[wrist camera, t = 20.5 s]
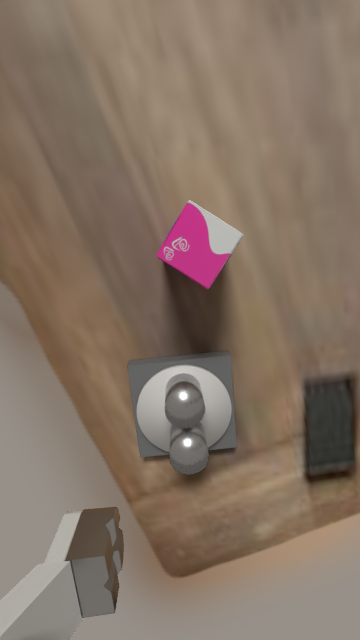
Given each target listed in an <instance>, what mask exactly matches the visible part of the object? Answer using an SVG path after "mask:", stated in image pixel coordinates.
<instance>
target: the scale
mask: <svg viewBox="0 0 360 640" xmlns="http://www.w3.org/2000/svg"><path fill="white" fill-rule="evenodd" d="M127 368H128V375H129V382H130V389H131V396H132V403H133V410H134V417H135V424H136V432H137V439H138V446H139V453H140V457H149V456H159V455H168V454H170V428H171V426H172V424H171V423H170V422H169V421H168V419H167V417H166V415H165V389H166V384H167V382H168V381H169V379H170V378H172V377H173V376H175V375H177V374H181V373H186V374H190V375H192V376H194V377H195V378H196V379H197V380H198V381H199V383H200V386H201V391H202V395H203V400H204V404H205V414H204V417H203V418H202V420H201V421H200V423H201V424H202V426H203V428H204V433H205V438H206V444H207V449H208V450H216V449H225V448H235V447H237V443H236V427H235V412H234V397H233V381H232V366H231V355H230V353H229V351H228V350H227V351H217V352H207V353H197V354H188V355H178V356H168V357H158V358H149V359H139V360H129V363H128V365H127Z"/></svg>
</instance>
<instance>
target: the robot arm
mask: <svg viewBox="0 0 360 640" xmlns="http://www.w3.org/2000/svg"><path fill="white" fill-rule="evenodd" d="M119 521H120V515H119V510H118V508H117V507H110V508H98V509H85V510H76V511H67V512H66V513H65V514H64V515H63V518H62V520H61V522H60V525H59V528H58V530H57V532H56V535H55V537H54V539H53V542H52V544H51V547H50V549H49V552H48V554H47V556H46V559H45V562H44V564H38V565H37V566H36V567H35V568H34V569H33V570H32V571H31V572H30V573H29V574H28V575H27V576H25V577H24V579H22V580H21V581H20V582H19V583H18V584H17V585H16V586H15V587H14V588H13V589H12V590H11V591H10V592H9V593H8V594H7V595H6V596H5V597H4V598H3V599H1V601H0V640H70V638H71V637H72V635H73V634H74V632H75V631H76V629H77V627H78V626H79V624H80V623H81V622H82V618H85V617H91V616H98V615H106V614H112V613H115V609H116V603H117V597H118V590H119V582H118V576H117V575H118V573H119V572H120V571H121V570H122V564H123V552H124V543H123V533H122V530H121V529H120V528H119Z"/></svg>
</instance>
